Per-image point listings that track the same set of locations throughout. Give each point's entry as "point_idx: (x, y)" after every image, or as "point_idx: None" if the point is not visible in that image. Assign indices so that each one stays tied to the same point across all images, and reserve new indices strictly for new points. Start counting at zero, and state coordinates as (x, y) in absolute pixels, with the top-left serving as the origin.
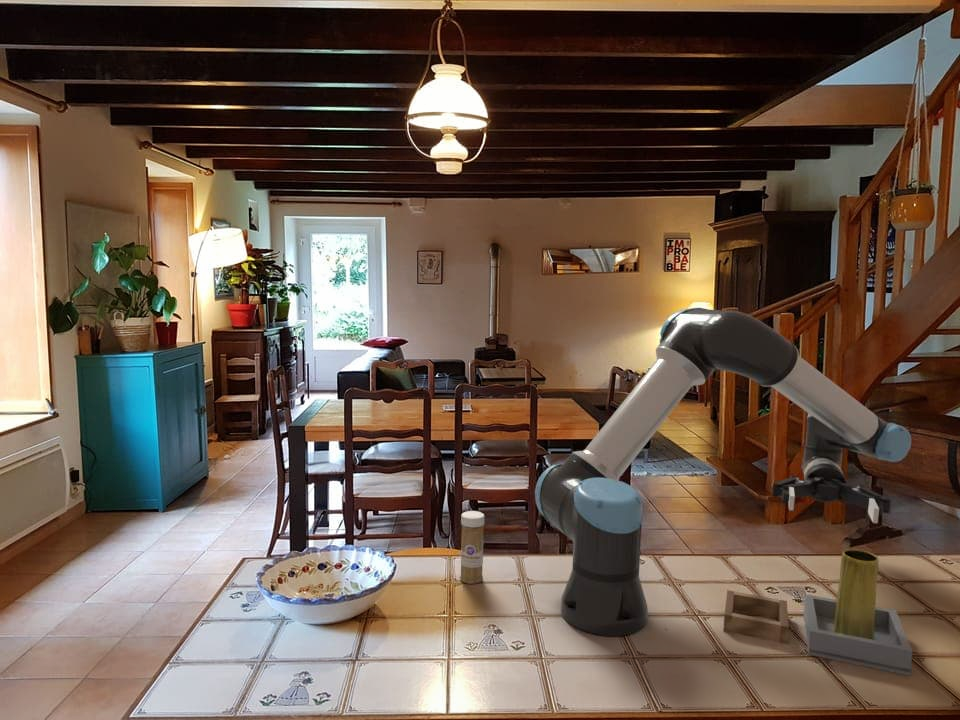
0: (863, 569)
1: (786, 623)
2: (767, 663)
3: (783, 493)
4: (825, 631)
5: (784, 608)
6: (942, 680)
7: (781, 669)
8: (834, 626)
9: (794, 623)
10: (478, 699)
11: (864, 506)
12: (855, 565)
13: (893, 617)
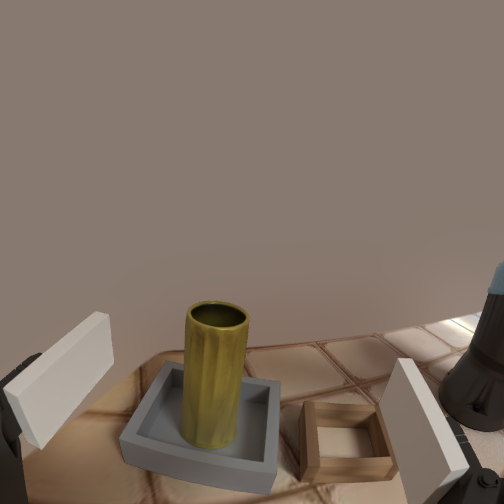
0: (220, 314)
1: (307, 407)
2: (318, 385)
3: (454, 421)
4: (261, 383)
5: (311, 442)
6: (133, 379)
7: (304, 380)
8: (234, 432)
9: (286, 468)
10: (448, 325)
11: (21, 477)
12: (232, 314)
13: (139, 419)
